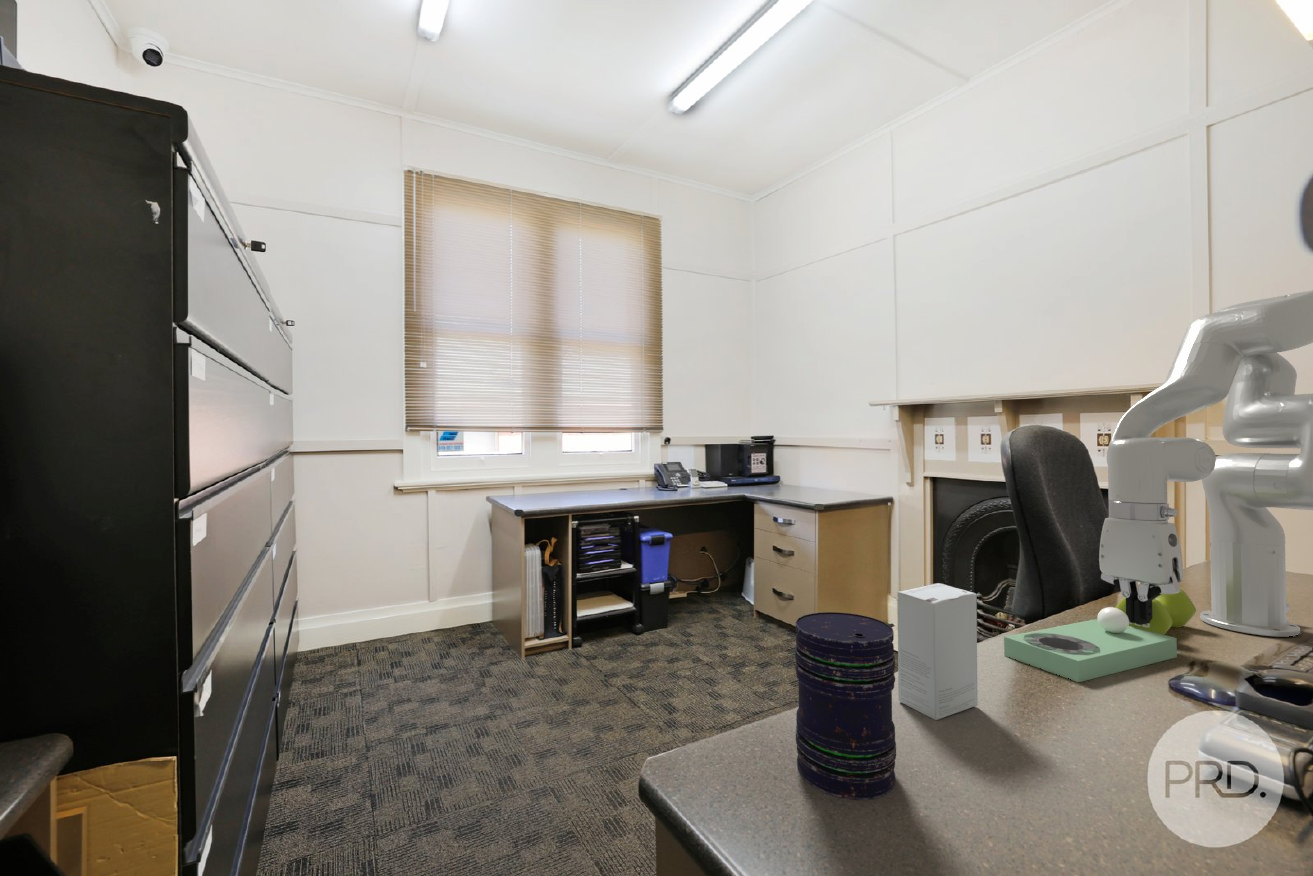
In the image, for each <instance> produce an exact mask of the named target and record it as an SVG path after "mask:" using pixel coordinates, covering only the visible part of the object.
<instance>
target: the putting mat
mask: <svg viewBox="0 0 1313 876" xmlns="http://www.w3.org/2000/svg"><path fill="white" fill-rule="evenodd" d="M1003 640H1004V641H1003V645H1004V647H1003V649H1004V652H1003V653H1004V655H1005V656H1004V657H1006V658H1009V657H1010V658H1011V659H1013V660H1015V659H1016V661H1018V662H1021V663H1023V664H1026V665H1029V664H1030V665H1029V666H1032V667H1034V668H1038V669H1040V668H1041V669H1040V670H1043V671H1046V672H1049V673H1051V674H1054V675H1056V674H1057V675H1056V676H1059V675H1060V677H1063V678H1065V679H1068V678H1069V679H1068V680H1070V679H1071V681H1074V682H1076V683H1082V682H1086V681H1089V680H1092V679H1097V678H1098V679H1099V678H1100V677H1105V676H1110V675H1113V674H1117V673H1120V672H1124V671H1129V670H1133V669H1136V668H1140V667H1143V666H1144V667H1145V666H1147V665H1152V664H1157V663H1160V662H1163V661H1168V660H1172V659H1176V658H1177V657H1178V649H1177V648H1178V645H1177V643H1178V642H1177V640H1178V639H1177V637H1174V636H1171V635H1166V634H1165V635H1162V634H1158V633H1154V632H1150V631H1146V630H1143V629H1139V628H1135V627H1131V626H1128V628H1127V629H1126V630H1125V631H1124V632H1121V633H1111V632H1108V631H1106V630H1105V629H1103V628H1102V627H1101V626H1100V624H1099V622H1098V618H1095V619H1090V620H1085V621H1080V622H1079V621H1078V622H1074V623H1068V624H1064V625H1058V626H1054V627H1048V628H1042V629H1038V630H1032V631H1027V632H1022V633H1016V634H1011V635H1007V636H1004V637H1003ZM1010 658H1009V659H1010Z"/></svg>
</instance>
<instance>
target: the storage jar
mask: <svg viewBox="0 0 1313 876" xmlns="http://www.w3.org/2000/svg"><path fill="white" fill-rule="evenodd" d="M795 632H796V635H795V646H794V658H795V666H794V669H795V675H796V677H797V679H798V708H797V710H796V714H795V715H796V726H795V743H796V753H797V757H796V766H797V771H798V772H799V774H800V776H801V777H802V779H803V780H804V781H806V783H808V784H809V785H810V786H812V787H813V788H815V789H817V790H818V791H821V792H823V793H826V794H828V795H831V796H834V797H837V798H840V799H841V798H842V799H846V800H856V801H860V800H861V801H867V800H874V799H880V798H881V797H884V796H886V795H887V794H890V793H891V792H892V791H893V789H894V787H895V785H896V772H895V769H896V767H895V766H896V759H897V741H896V726H895V723H894V721H893V695H892V694H893V690H894V688H895V682H896V676H895V670H896V660H895V659H896V657H895V654H894V653H895V652H894V651H895V647H894V646H895V645H894V643H893V642H894V638H895V637H894V636H895V635H894V629H893V628H892V626H891V625H889V624H888V623H887V622H884V621H882V620H879V619H877V618H874V617H870V616H868V615H867V616H866V615H862V614H857V613H851V612H850V613H848V612H839V611H838V612H836V611H835V612H834V611H830V612H829V611H825V612H824V611H822V612H813V613H807V614H804V615H802V616H800V617H798V618H797V619H796V621H795Z"/></svg>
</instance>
